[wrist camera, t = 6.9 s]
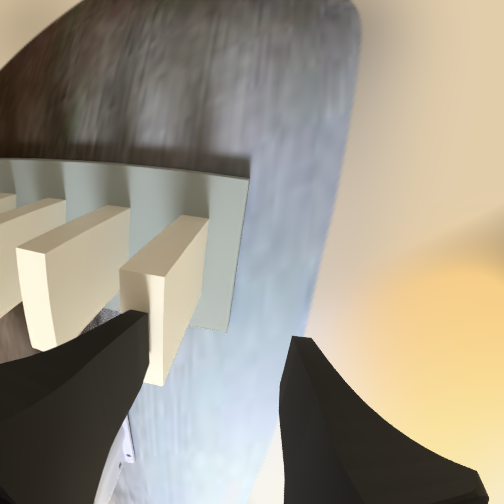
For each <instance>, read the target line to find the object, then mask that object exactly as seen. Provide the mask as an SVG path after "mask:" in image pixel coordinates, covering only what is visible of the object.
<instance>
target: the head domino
mask: <svg viewBox="0 0 504 504" xmlns="http://www.w3.org/2000/svg"><path fill="white" fill-rule="evenodd" d="M208 226H209V218H202V217H195V216H188V215H181V216H180V217H178V218H177V219H176V220H175V221H174V222H172V223H171V224H170V225H169V226H168V227H166V228H165V229H164V230H163V231H162V232H161V233H159V234H158V235H157V236H156V237H155V238H154V239H152V240H151V241H150V242H149V243H148V244H147V245H145V246H144V247H143V248H142V249H141V250H140V251H139V252H137V253H136V254H135V255H134V256H133V257H132V258H131V259H130V260H128V261H127V262H126V263H125V264H124V265H123V266H122V267H121V268H120V269H119V290H120V314H122V313H124V312H126V311H128V310H130V309H132V310H137V311H141V312H146V313H148V328H149V360H150V364H149V366H148V369H147V372H146V375H145V378H144V381H143V382H146V383H150V384H155V385H159V386H164V383H165V381H166V378H167V376H168V373H169V371H170V368H171V366H172V363H173V361H174V358H175V356H176V353H177V351H178V349H179V346H180V344H181V341H182V339H183V336H184V334H185V332H186V329H187V327H188V324H189V322H190V320H191V317H192V315H193V312H194V310H195V308H196V305H197V303H198V301H199V298H200V296H201V293H202V282H203V272H204V262H205V253H206V244H207V235H208Z"/></svg>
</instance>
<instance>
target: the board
mask: <svg viewBox="0 0 504 504" xmlns="http://www.w3.org/2000/svg"><path fill="white" fill-rule="evenodd" d="M249 182H250V178H244V177H237V176H230V175H223V174H216V173H208V172H200V171H192V170H184V169H175V168H166V167H156V166H146V165H135V164H124V163H111V162H97V161H82V160H63V159H37V158H0V193H10V194H16V205H17V208H18V207H21V206H24V205H27V204H30V203H33V202H36V201H39V200H42V199H45V198H55V199H64V200H66V223H67V222H69V221H71V220H74V219H76V218H78V217H80V216H83V215H85V214H87V213H90V212H92V211H94V210H96V209H99V208H101V207H103V206H106V205H112V206H120V207H128V208H131V210H130V231H129V260H130V259H131V258H132V257H133V256H134V255H135V254H136V253H137V252H139V251H140V250H141V249H142V248H143V247H144V246H145V245H147V244H148V243H149V242H150V241H151V240H152V239H154V238H155V237H156V236H157V235H158V234H159V233H161V232H162V231H163V230H164V229H165V228H166V227H168V226H169V225H170V224H171V223H172V222H174V221H175V220H176V219H177V218H178V217H180V216H181V215H188V216H195V217H202V218H209V226H208V235H207V244H206V253H205V262H204V272H203V282H202V293H201V296H200V298H199V301H198V303H197V305H196V308H195V310H194V312H193V315H192V317H191V320H190V322H189V324H188V326H192V327H197V328H203V329H208V330H214V331H220V332H226V333H227V330H228V325H229V319H230V312H231V305H232V297H233V290H234V283H235V276H236V269H237V263H238V256H239V249H240V242H241V235H242V228H243V222H244V215H245V208H246V201H247V195H248V188H249ZM103 308H106V309H110V310H115V311H119V312H120V290H119V291H118V292H117V293H116V294H115V295H114V297H113V298H112V299H111V300H110V301H109V302H108V303H107V304H106V305H105V306H104V307H103Z"/></svg>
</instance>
